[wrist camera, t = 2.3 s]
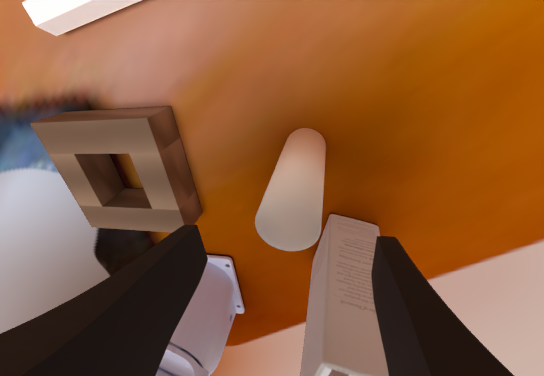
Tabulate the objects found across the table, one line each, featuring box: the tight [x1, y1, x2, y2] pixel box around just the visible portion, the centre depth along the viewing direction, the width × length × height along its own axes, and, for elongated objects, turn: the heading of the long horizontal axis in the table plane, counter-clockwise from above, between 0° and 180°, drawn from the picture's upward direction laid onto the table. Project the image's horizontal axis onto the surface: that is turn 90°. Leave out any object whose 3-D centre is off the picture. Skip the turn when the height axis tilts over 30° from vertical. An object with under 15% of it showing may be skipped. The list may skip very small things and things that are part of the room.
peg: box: [255, 128, 326, 251], centre depth 15 cm, size 3×3×9 cm
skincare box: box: [300, 214, 389, 376], centre depth 18 cm, size 6×4×12 cm
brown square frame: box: [30, 106, 202, 233], centre depth 22 cm, size 10×10×3 cm
